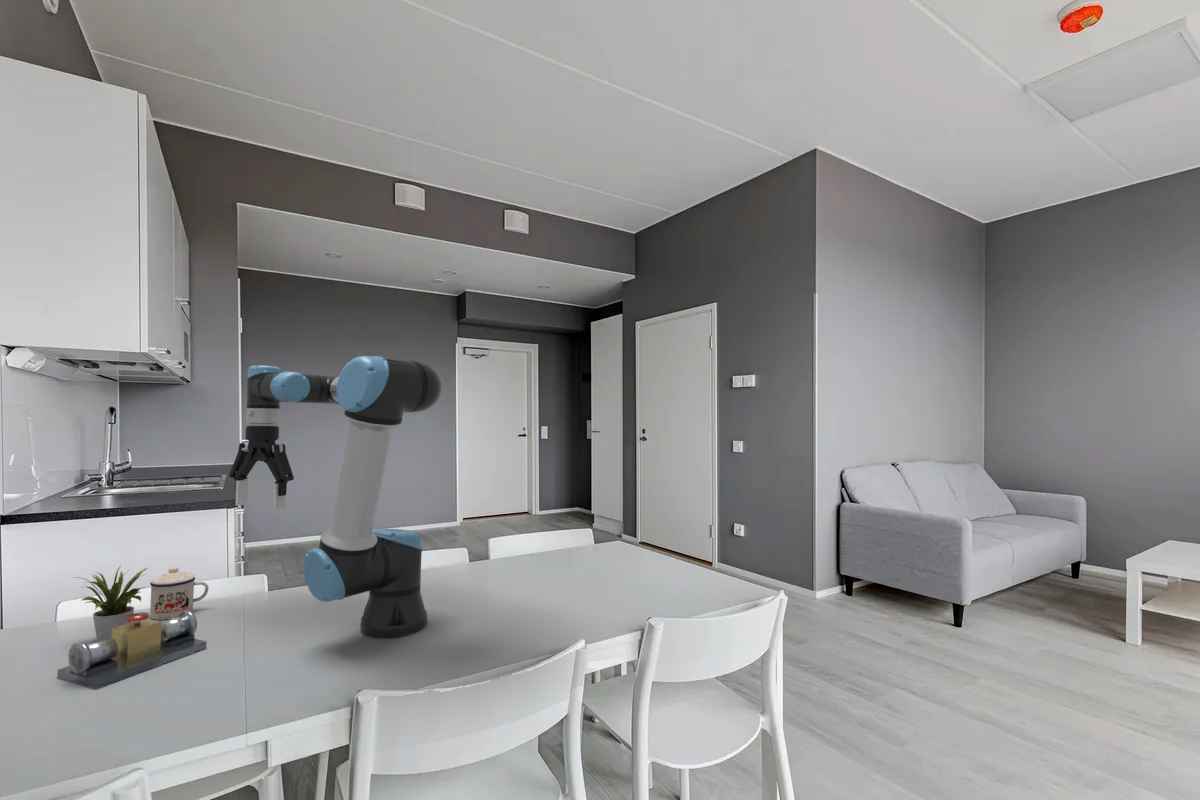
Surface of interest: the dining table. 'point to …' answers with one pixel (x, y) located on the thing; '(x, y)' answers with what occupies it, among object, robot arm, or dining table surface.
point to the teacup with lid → (173, 594)
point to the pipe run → (100, 669)
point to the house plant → (112, 604)
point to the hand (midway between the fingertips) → (259, 506)
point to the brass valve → (137, 637)
